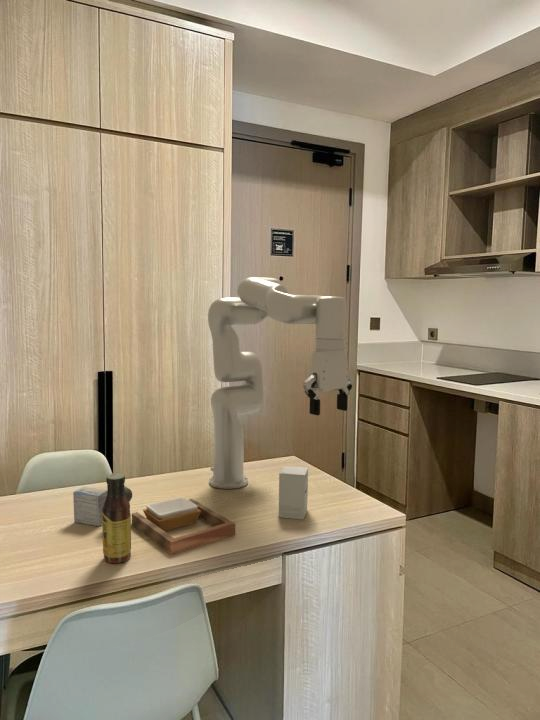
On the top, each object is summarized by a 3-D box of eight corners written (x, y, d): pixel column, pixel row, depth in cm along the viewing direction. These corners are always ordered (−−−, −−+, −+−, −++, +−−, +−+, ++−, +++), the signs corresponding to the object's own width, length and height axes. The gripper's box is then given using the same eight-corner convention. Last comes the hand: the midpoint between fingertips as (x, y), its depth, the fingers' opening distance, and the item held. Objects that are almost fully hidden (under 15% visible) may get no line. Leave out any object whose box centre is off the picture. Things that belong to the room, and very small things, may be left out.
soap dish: (158, 535, 140) (158, 516, 139) (142, 522, 148) (142, 504, 147) (201, 523, 147) (201, 505, 147) (184, 512, 155) (183, 495, 155)
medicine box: (108, 521, 148) (108, 489, 147) (98, 527, 144) (98, 495, 143) (84, 516, 151) (83, 486, 150) (73, 523, 146) (72, 491, 146)
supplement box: (304, 520, 150) (305, 475, 149) (277, 517, 152) (278, 473, 150) (308, 510, 158) (308, 467, 156) (282, 507, 159) (283, 465, 158)
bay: (110, 524, 145) (109, 485, 144) (186, 505, 160) (186, 469, 158) (153, 560, 126) (152, 515, 125) (235, 534, 140) (235, 494, 139)
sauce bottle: (106, 552, 130) (104, 470, 128) (133, 551, 130) (132, 470, 128) (100, 566, 123) (98, 479, 121) (128, 565, 124) (127, 479, 122)
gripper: (343, 343, 147) (341, 406, 149) (294, 345, 137) (293, 413, 139) (364, 345, 142) (362, 410, 144) (315, 348, 131) (313, 419, 133)
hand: (328, 412), depth 141 cm, fingers open, 9 cm apart
